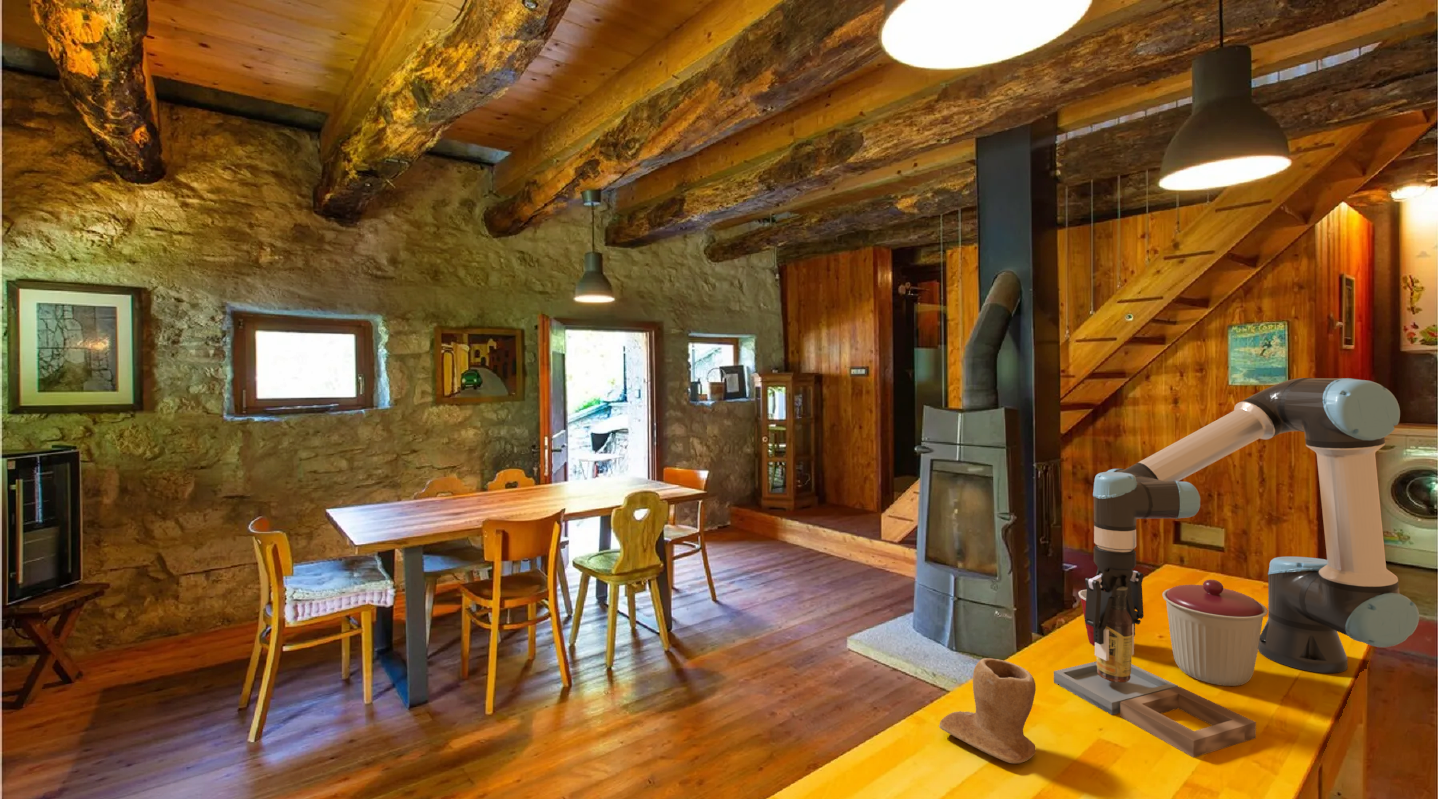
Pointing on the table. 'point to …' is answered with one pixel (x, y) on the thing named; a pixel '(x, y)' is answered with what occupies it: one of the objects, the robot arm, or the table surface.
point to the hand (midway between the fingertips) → (1114, 654)
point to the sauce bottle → (1118, 641)
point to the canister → (1214, 632)
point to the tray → (1108, 685)
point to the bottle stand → (1194, 743)
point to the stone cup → (997, 711)
